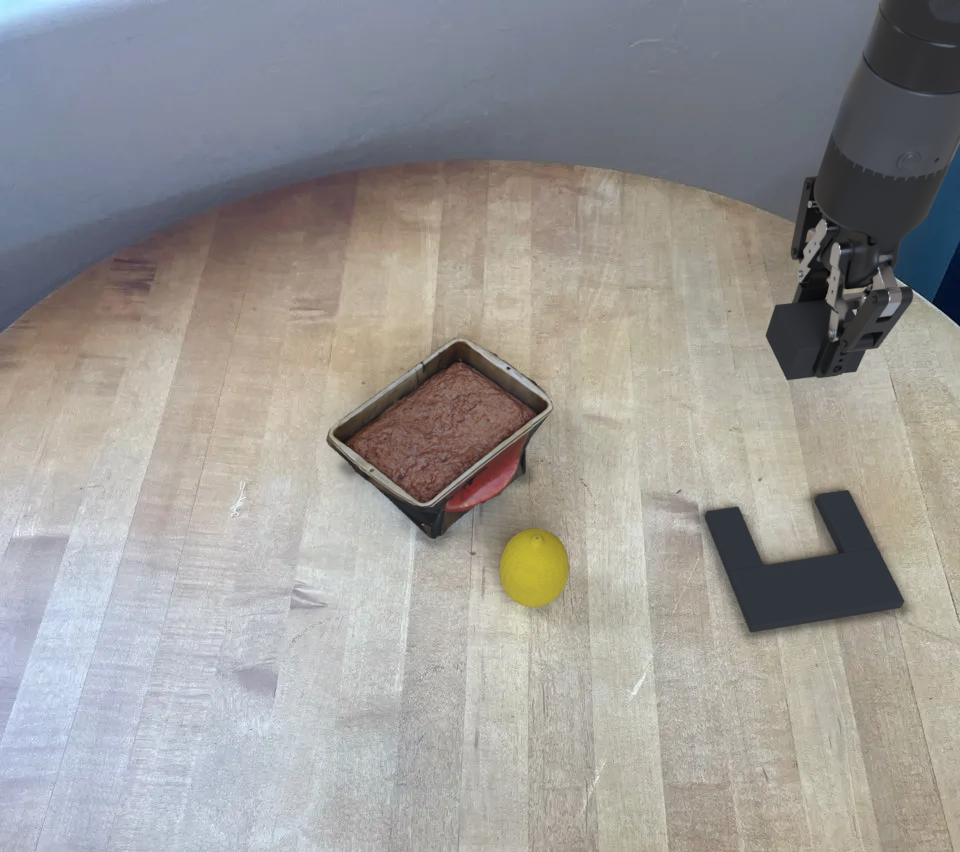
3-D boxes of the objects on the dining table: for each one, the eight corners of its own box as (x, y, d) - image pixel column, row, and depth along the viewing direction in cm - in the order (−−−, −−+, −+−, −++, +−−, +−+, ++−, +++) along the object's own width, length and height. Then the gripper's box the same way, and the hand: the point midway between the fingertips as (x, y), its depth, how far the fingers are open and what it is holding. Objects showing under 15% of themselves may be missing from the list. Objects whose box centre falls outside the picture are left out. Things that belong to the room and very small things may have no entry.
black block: (832, 327, 78) (845, 296, 76) (856, 372, 76) (870, 341, 73) (764, 335, 78) (775, 304, 75) (786, 380, 75) (798, 349, 72)
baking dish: (558, 488, 91) (574, 397, 84) (409, 575, 82) (412, 482, 75) (453, 412, 97) (459, 321, 90) (305, 485, 89) (298, 391, 81)
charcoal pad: (843, 500, 88) (848, 489, 87) (898, 611, 82) (905, 601, 81) (703, 521, 87) (706, 510, 86) (748, 636, 81) (753, 626, 79)
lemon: (574, 584, 83) (584, 524, 76) (549, 634, 80) (556, 577, 74) (514, 561, 84) (518, 500, 78) (487, 610, 82) (488, 552, 75)
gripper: (1003, 200, 58) (895, 409, 73) (905, 68, 66) (825, 282, 80) (883, 212, 58) (798, 422, 72) (797, 77, 65) (736, 292, 79)
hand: (813, 347), depth 76 cm, fingers closed on black block, 5 cm apart
